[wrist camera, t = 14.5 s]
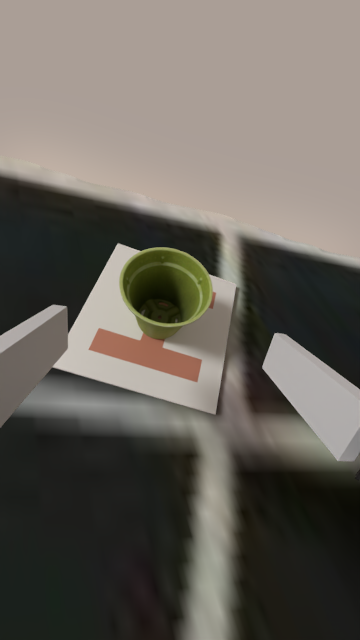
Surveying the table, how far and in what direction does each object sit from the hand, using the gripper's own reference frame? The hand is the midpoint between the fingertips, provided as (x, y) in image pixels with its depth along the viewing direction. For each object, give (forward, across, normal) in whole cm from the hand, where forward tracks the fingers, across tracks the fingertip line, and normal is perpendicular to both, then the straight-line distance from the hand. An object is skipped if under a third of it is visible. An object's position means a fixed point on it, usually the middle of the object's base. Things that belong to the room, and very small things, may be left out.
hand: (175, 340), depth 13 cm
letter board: (+16, 0, +5) cm, 16 cm away
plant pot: (+15, 0, +4) cm, 16 cm away
